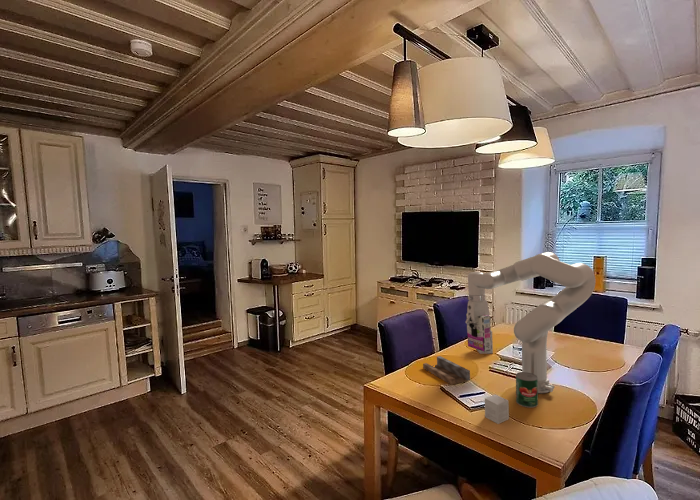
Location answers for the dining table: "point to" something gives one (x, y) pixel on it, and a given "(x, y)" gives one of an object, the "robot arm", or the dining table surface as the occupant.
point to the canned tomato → (527, 389)
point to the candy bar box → (481, 334)
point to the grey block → (496, 409)
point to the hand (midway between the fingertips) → (479, 334)
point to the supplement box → (487, 351)
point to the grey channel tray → (448, 371)
